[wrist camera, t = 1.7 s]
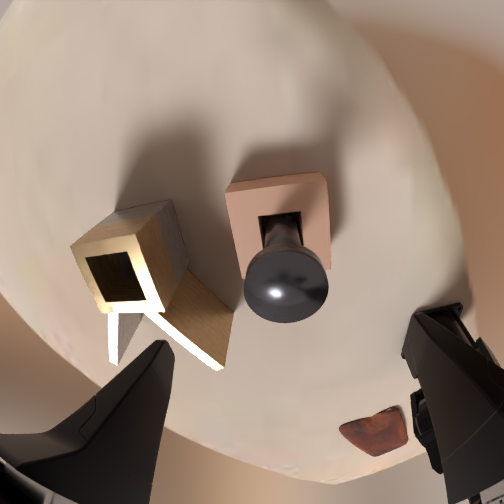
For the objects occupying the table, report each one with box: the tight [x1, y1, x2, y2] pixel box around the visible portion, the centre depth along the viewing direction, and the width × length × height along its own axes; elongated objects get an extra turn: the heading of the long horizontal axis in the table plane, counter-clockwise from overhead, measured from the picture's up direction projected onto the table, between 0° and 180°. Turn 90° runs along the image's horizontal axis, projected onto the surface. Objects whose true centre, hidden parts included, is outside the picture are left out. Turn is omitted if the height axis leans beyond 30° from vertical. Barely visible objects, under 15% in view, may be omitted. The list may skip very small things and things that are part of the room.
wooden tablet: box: [339, 407, 408, 457], centre depth 37 cm, size 27×10×2 cm, turn 32°
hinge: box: [70, 200, 234, 371], centre depth 19 cm, size 10×11×6 cm
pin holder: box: [224, 172, 331, 279], centre depth 18 cm, size 6×6×2 cm
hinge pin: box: [244, 212, 329, 323], centre depth 15 cm, size 4×4×8 cm
